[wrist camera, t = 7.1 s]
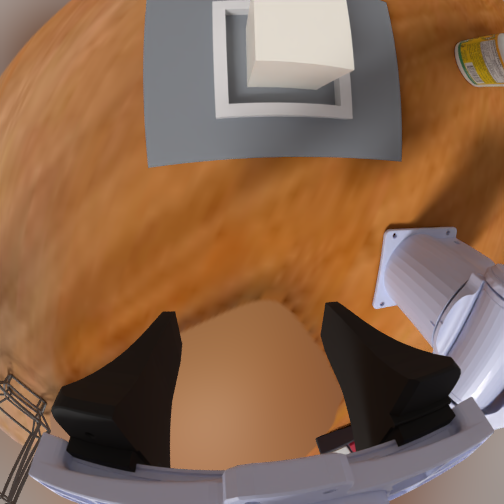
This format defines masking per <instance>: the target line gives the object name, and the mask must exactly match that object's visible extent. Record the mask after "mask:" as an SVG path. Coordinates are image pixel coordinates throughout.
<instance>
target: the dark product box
mask: <svg viewBox="0 0 504 504" xmlns="http://www.w3.org/2000/svg"><path fill="white" fill-rule="evenodd" d="M316 442H317V445H318V448H319V451H320V454H326V453H334V452H336V453H341V454H349V453H353V452H356V449H355V443H354V437H353V432H352V427H351V426H348V427H346V428H344V429H339V430H337V431H334V432H332V433H329V434H324V435H321V436H319V437H317V438H316Z"/></svg>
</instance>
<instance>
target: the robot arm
mask: <svg viewBox="0 0 504 504" xmlns="http://www.w3.org/2000/svg"><path fill="white" fill-rule="evenodd" d="M446 232H447V233H446ZM394 233H395V236H394V237H393V234H394ZM456 234H457V229H456V228H455V227H431V228H405V229H388V230H386V231H385V233H384V239H383V246H382V253H381V260H380V266H379V272H378V278H377V283H376V289H375V294H374V299H373V303H372V305H373V307H374V308H375V309H378V308H384V307H389V306H395V305H397V306H398V307H399V308H400V309H401V310H402V311H403V312H404V314H405V315H406V316H407V317H408V318H409V320H410V321H411V322H412V323H413V324H414V325H415V327H416V328H417V329H418V330H419V332H420V333H421V334H422V335H423V336H424V338H425V339H426V340H427V341H428V343H429V344H430V345H431V346H432V348H433V353H430V352H426V351H423V350H419V349H416V348H414V347H411V346H408V345H406V344H403V343H401V342H399V341H397V340H395V339H393V338H391V337H389V336H387V335H385V334H383V333H382V332H380V331H378V330H377V329H375V328H374V327H372V326H371V325H369V324H368V323H366V322H365V321H363V320H362V319H360V318H359V317H358V316H356V315H355V314H354V313H352V312H351V311H350V310H348V309H347V308H346V307H344V306H343V305H341V304H340V303H338V302H328V303H325V310H324V317H323V323H322V330H321V338H322V342H323V346H324V349H325V352H326V355H327V357H328V359H329V361H330V364H331V366H332V368H333V371H334V373H335V375H336V377H337V380H338V382H339V384H340V387H341V389H342V392H343V395H344V399H345V402H346V406H347V410H348V414H349V418H350V422H351V427H352V432H353V437H354V443H355V449H356V452H353V453H349V454H341V453H336V452H334V453H326V454H320V455H314V456H309V457H303V458H297V459H291V460H283V461H274V462H264V463H251V464H245V465H237V466H235V467H232V468H229V469H227V470H221V471H220V470H219V471H218V470H187V469H174V468H170V421H171V419H170V418H171V406H172V399H173V394H174V390H175V385H176V380H177V376H178V371H179V367H180V361H181V351H182V342H181V337H180V332H179V328H178V323H177V318H176V314H175V312H162V313H161V314H160V315H159V316H158V318H157V319H156V320H155V321H154V322H153V323H152V324H151V325H150V327H149V328H148V329H147V330H146V331H145V332H144V333H143V334H142V335H141V336H140V337H139V338H138V339H137V340H136V341H135V342H134V343H133V344H132V345H131V346H130V347H129V348H128V349H127V350H126V351H125V352H123V353H122V354H121V355H120V356H118V357H117V358H116V359H115V360H113V361H112V362H110V363H109V364H107V365H106V366H104V367H103V368H101V369H100V370H98V371H96V372H94V373H93V374H91V375H89V376H87V377H85V378H83V379H81V380H78V381H76V382H73V383H71V384H68V385H66V386H63V387H62V388H61V389H60V392H59V394H58V396H57V398H56V400H55V402H54V404H53V406H52V410H51V412H52V414H53V417H54V418H55V420H56V421H57V422H58V423H59V425H60V426H61V427H62V428H63V429H64V430H65V431H66V432H67V433H68V435H69V436H70V440H69V442H67V441H66V440H64V439H62V438H59V437H56V436H54V435H51V434H48V433H45V432H44V433H43V434H42V437H41V439H40V442H39V444H38V447H37V450H36V453H35V455H34V458H33V461H32V464H31V467H30V470H29V473H28V474H29V475H30V476H31V477H32V478H34V479H35V480H37V481H38V482H39V483H41V484H43V485H44V486H46V487H47V488H48V489H50V490H52V491H53V492H55V493H57V494H58V495H60V496H62V497H64V498H66V499H69V500H71V501H74V502H76V503H79V504H389V501H390V500H392V499H394V498H396V497H399V496H401V495H403V494H405V493H407V492H409V491H411V490H413V489H415V488H417V487H419V486H421V485H423V484H424V483H426V482H428V481H430V480H432V479H434V478H435V477H437V476H439V475H440V474H442V473H444V472H445V471H447V470H449V469H450V468H452V467H453V466H455V465H456V464H458V463H460V462H461V461H463V460H464V459H466V458H467V457H468V456H469V455H470V454H472V453H473V452H474V451H475V450H476V449H477V448H478V447H479V446H480V445H482V444H483V443H484V442H485V441H486V440H487V439H488V438H489V437H490V436H491V435H492V434H493V433H494V430H495V429H499V428H503V427H504V264H496V265H495V263H494V262H493V261H492V260H491V259H489V258H488V257H486V256H485V255H483V254H482V253H480V252H478V251H477V250H475V249H474V248H472V247H470V246H469V245H467V244H465V243H464V242H462V241H460V240H459V239H457V238H456ZM382 302H383V303H382ZM381 303H382V304H381Z"/></svg>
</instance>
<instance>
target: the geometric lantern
mask: <svg viewBox="0 0 504 504" xmlns="http://www.w3.org/2000/svg"><path fill="white" fill-rule="evenodd" d="M12 378H13V379H15V380H16V381H17V382H18V383H19V384H21V385H22V386H23V387H24V388H26V389H27V390H28V391H29V392H31V393H32V394H33V395H35V396H36V397H37V398H39V399H40V400H39V402H38V404H37V406H35V405H34V404H32V403H31V402H30V401H29V400H27V399H26V398H25V397H24V396H23V395H21V394H20V393H19V392H18V391H17V390H16V389H15V388H13V387H12V386H11V385H10V384H9V382H10V380H11V379H12ZM7 379H8V382H6V381H7ZM0 384H3V387H4V388H3V387H2V386H1V385H0V389H1V390H2V391H3V392H4V394H0V395H5V397H6V398H4V399H3V400H1V401H0V403H2V402H3V401H5V400H6V399H7V400H8V401H9V402H11V403H12V404H13V405H14V406H16V407H17V408H18V409H19V410H21V411H22V412H23V413H25V414H26V415H27V416H29V417H30V418H31V419H33V420H34V421H33V428H32V432H30V431H29V430H28V429H26V428H25V427H24V426H22V425H21V424H20V423H19V422H17V421H16V420H15V419H14V418H13V417H11V416H10V415H9V414H8V413H7V412H5V411H4V410H3V409H2V408H1V407H0V410H1V411H2V412H3V413H5V414H6V415H7V416H8V417H9V418H10V419H12V420H13V421H14V422H15V423H17V424H18V425H19V426H20V427H22V428H23V429H24V430H25V431H27V432H28V433H29V434H30V435H29V437H28V439H27V440H26V442H25V444H24V446H23V448H22V450H21V452H20V454H19V456H18V458H17V460H16V462H15V464H14V466H13V468H12V471H11V473H10V475H9V477H8V480H7V482H6V484H5V486H4V489H3V491H2V493H1V492H0V494H1V495H0V499H1V498H2V499H3V500H5V501H6V502H8V503H5V504H16V502H17V500H18V497H19V495H20V493H21V490H22V488H23V486H24V484H25V482H26V479H27V477H28V475H29V474H28V473H29V470H30V467H31V464H32V461H33V459H32V461H31V463H30V465H29V467H28V469H27V471H26V473H25V476H24V477H23V479H22V476H23V474H24V472H25V470H26V468H27V466H28V464H29V462H30V460H31V458H32V456H33V454H34V452H35V450H36V448H37V447H38V444H39V442H40V439H41V437H42V436H41V434H40V429H39V428H40V426H41V425H42V426H43V427H44V428H45V429H46V430H47V431H46V432H45V433H48V434H50V432H51V430H50V428H49V426H48V424H47V422H46V420H45V418H44V416H43V412H44V410H45V407H46V405H47V403H46V402H45V401H44V400H43V399H42V398H40V397H39V396H38V395H36V394H35V393H34V392H32V391H31V390H30V389H28V388H27V387H26V386H25V385H23V384H22V383H21V382H20V381H19V380H17V379H16V378H15V377H14V376H13V375H8V376H7V377H6V378H5V380H4V381H0ZM5 384H7V390H5ZM9 386H10V387H11V388H12V389H13V390H14V391H15V392H16V393H18V394H19V395H20V396H21V397H22V398H23V399H25V400H26V401H27V402H28V403H29V404H31V405H32V406H33V407H34V408H36V409H37V411H36V410H34V409H33V408H32V407H30V406H29V405H28V404H26V403H25V402H24V401H22V400H21V399H20V398H18V397H17V396H16V395H15V394H14V393H12V391H11V390H10V389H9ZM8 390H9V391H10V392H11V393H10V394H9V393H8ZM6 395H7V396H8V397H7V396H6ZM11 395H14V396H15V397H16V398H17V399H19V400H20V401H21V402H22V403H24V404H25V405H26V406H28V407H29V408H30V409H32V410H33V411H34V412H36V413H37V414H36V415H35V416H34V415H33V414H32V413H31V412H29V411H28V410H27V409H26V408H25V407H23V406H22V405H21V404H20V403H19V402H18V401H17V400H16V399H14V398H13V397H12V396H11ZM9 398H10V399H12V400H13V401H14V402H15V403H16V404H17V405H18V406H19V407H20V408H19V407H18V406H17V405H16V404H14V403H13V402H12V401H11V400H10V399H9ZM41 401H42V402H43V403H44V404H43V405H42V407H41V409H39V408H38V407H39V405H40V403H41ZM21 408H22V409H23V410H24V411H25V412H24V411H23V410H22V409H21ZM28 414H29V415H28ZM37 416H38V417H37ZM41 416H42V418H43V420H44V422H45V424H46V425H45V424H44V423H43V422H42V421H41ZM35 421H36V422H37V427H36V429H35V431H34V426H35ZM38 432H39V436H40V437H39V436H37V433H38ZM31 437H32V438H31ZM35 437H36V438H38V441H37V442H36V444H35V446H34V448H33V450H32V452H31V454H30V456H29V457H28V459H27V461H26V463H25V465H24V462H25V460H26V458H27V455H28V452H29V450H30V448H31V446H32V444H33V441H34V439H35ZM30 439H31V440H30ZM29 441H30V442H29ZM28 443H29V444H28ZM27 445H28V446H27ZM26 446H27V449H26V451H25V453H24V456H23V458H22V461H21V463H20V466H19V468H18V471H17V473H16V476H15V479H14V481H13V484H12V487H11V490H10V493H9V496H8V497H7V496H6V495H4V494H5V492H6V489H7V487H8V485H9V482H10V480H11V478H12V475H13V473H14V471H15V469H16V467H17V465H18V463H19V461H20V458H21V456H22V454H23V452H24V450H25V448H26ZM33 458H34V457H33ZM23 465H24V467H23ZM22 468H23V469H22ZM21 470H22V472H21ZM20 473H21V474H20ZM19 475H20V476H19ZM21 479H22V482H21V484H20V486H19V488H18V490H17V487H18V485H19V483H20V481H21ZM16 490H17V493H16V495H15V497H14V494H15V492H16ZM3 497H5V498H6V499H7V500H6V499H5V498H3ZM13 497H14V500H13V501H12V499H13Z"/></svg>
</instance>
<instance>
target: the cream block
mask: <svg viewBox="0 0 504 504" xmlns="http://www.w3.org/2000/svg"><path fill="white" fill-rule="evenodd" d="M246 57H247V87H279V88H299V89H312V90H317V89H319V88H321V87H322V86H324V85H326V84H328V83H330V82H332V81H334V80H336V79H338V78H339V77H341V76H343V75H345V74H347V73H349V72H351V71H353V70H354V58H353V47H352V38H351V29H350V22H349V15H348V8H347V2H346V0H250V6H249V12H248V18H247V24H246Z"/></svg>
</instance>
